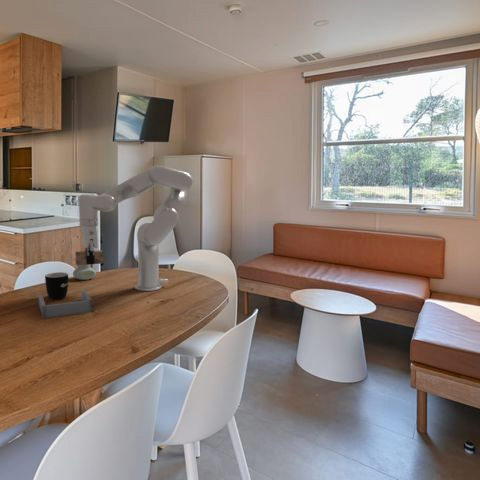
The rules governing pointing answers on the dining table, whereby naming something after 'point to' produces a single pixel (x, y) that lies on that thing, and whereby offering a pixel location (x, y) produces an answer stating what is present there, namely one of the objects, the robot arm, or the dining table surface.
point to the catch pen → (66, 306)
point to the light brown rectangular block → (82, 257)
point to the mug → (56, 285)
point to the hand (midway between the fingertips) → (89, 262)
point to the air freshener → (84, 272)
